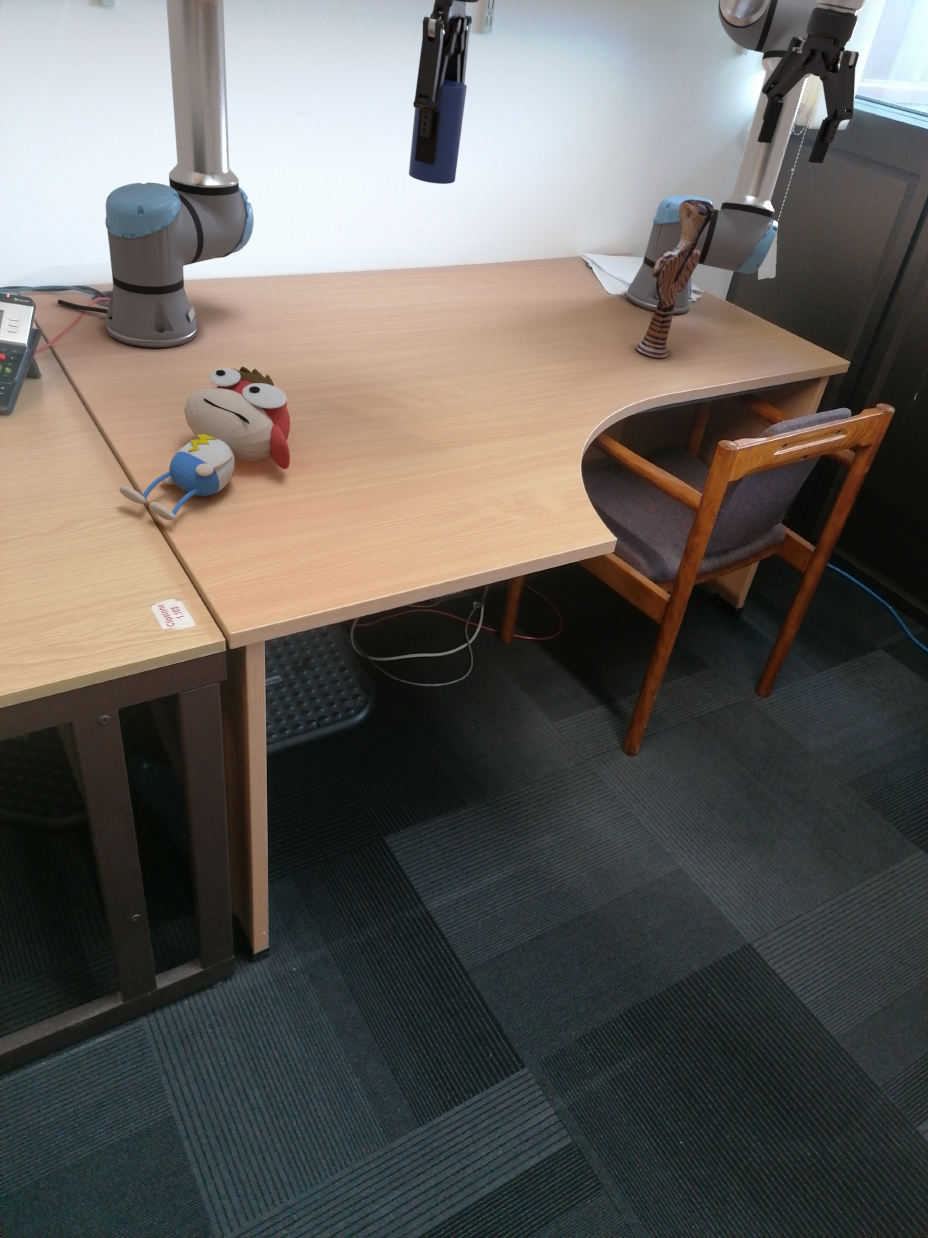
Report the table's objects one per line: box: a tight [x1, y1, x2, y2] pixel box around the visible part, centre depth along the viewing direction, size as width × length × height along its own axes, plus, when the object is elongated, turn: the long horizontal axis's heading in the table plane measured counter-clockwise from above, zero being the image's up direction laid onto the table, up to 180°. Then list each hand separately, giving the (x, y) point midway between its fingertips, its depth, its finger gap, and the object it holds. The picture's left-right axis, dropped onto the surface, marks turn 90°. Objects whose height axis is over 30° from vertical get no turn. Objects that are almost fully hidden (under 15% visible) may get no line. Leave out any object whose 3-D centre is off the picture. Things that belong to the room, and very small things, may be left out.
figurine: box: [635, 199, 715, 359], centre depth 176 cm, size 15×8×30 cm, turn 144°
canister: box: [408, 79, 467, 185], centre depth 126 cm, size 7×7×12 cm
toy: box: [119, 366, 291, 521], centre depth 123 cm, size 18×10×30 cm
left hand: (433, 157), depth 128 cm, fingers closed on canister, 7 cm apart
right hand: (788, 151), depth 158 cm, fingers open, 13 cm apart
